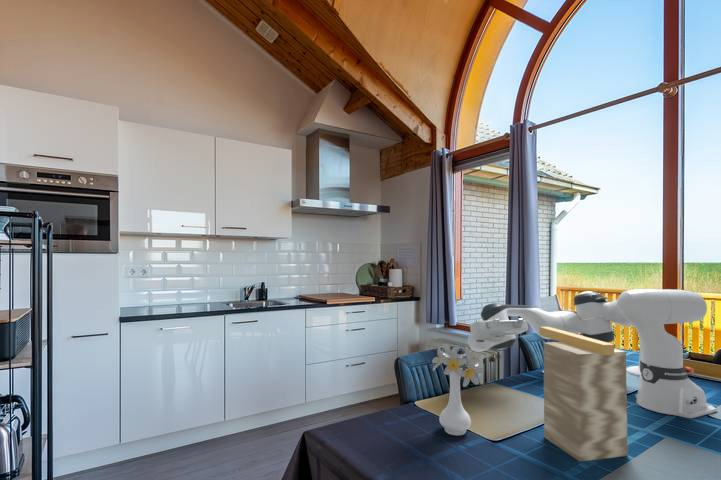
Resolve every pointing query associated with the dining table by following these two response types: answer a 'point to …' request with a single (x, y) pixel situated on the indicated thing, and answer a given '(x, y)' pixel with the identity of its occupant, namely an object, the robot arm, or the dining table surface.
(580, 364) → the pedestal
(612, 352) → the bar
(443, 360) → the flower vase
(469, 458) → the dining table surface
